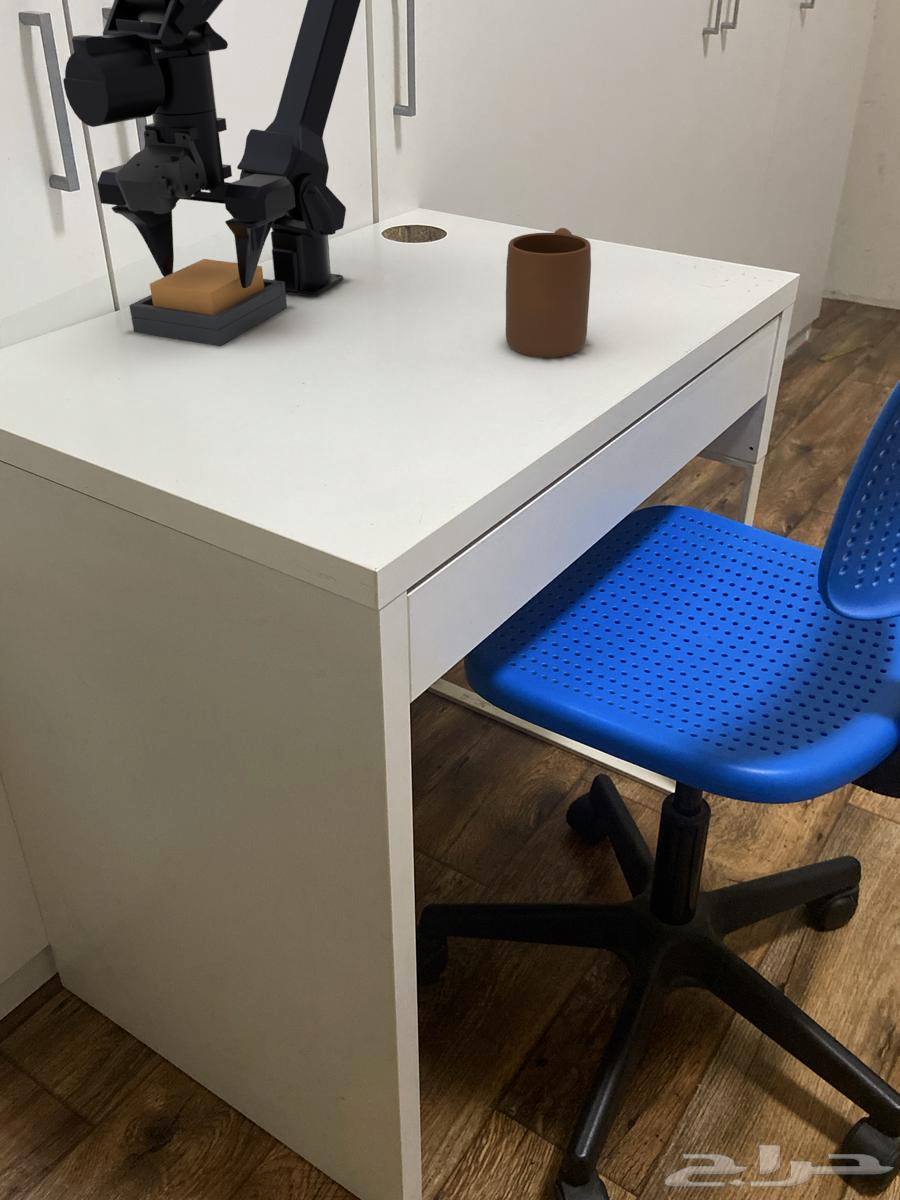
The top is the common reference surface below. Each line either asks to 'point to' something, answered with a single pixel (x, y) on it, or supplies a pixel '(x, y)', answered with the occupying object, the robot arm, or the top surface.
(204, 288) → the foam pad
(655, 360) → the top surface
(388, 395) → the top surface
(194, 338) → the dark gray tray
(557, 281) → the mug
